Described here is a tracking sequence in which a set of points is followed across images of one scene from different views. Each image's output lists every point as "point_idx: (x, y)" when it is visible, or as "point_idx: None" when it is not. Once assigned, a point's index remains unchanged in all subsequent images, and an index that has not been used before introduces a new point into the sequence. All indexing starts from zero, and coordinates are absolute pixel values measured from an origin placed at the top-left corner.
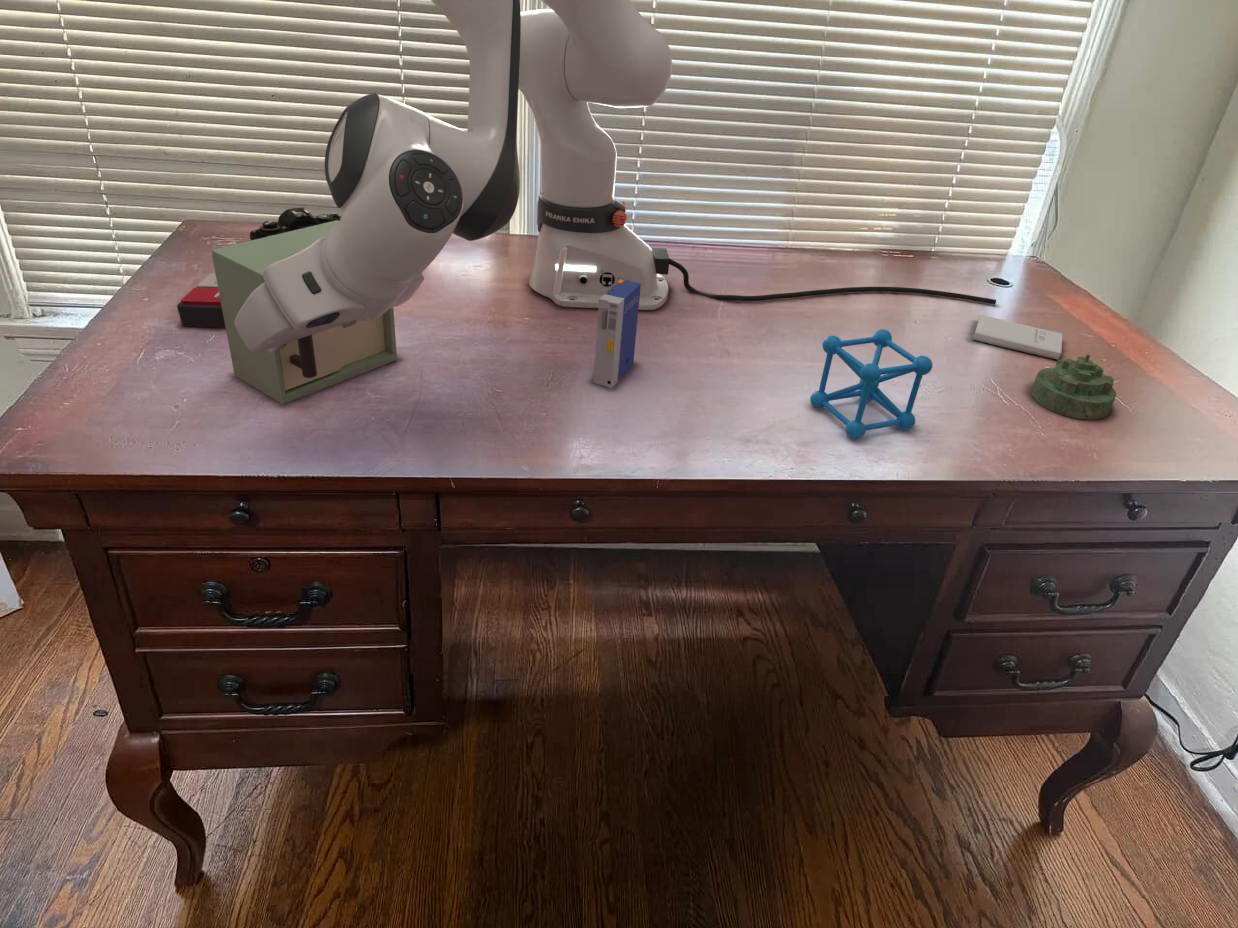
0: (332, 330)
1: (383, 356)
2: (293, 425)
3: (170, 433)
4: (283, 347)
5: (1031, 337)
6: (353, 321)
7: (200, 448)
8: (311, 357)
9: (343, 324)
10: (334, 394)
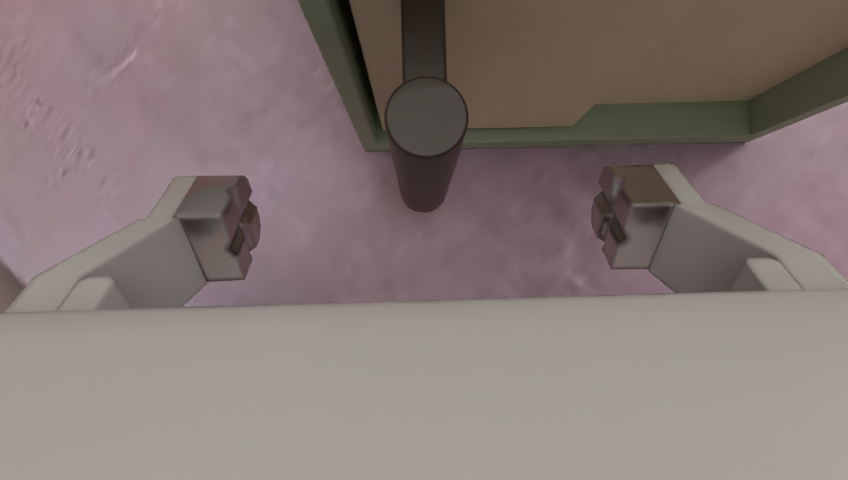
0: (608, 71)
1: (720, 128)
2: (325, 260)
3: (91, 94)
4: (249, 250)
5: None
6: (636, 266)
7: (103, 204)
8: (425, 201)
9: (598, 218)
10: (497, 192)
